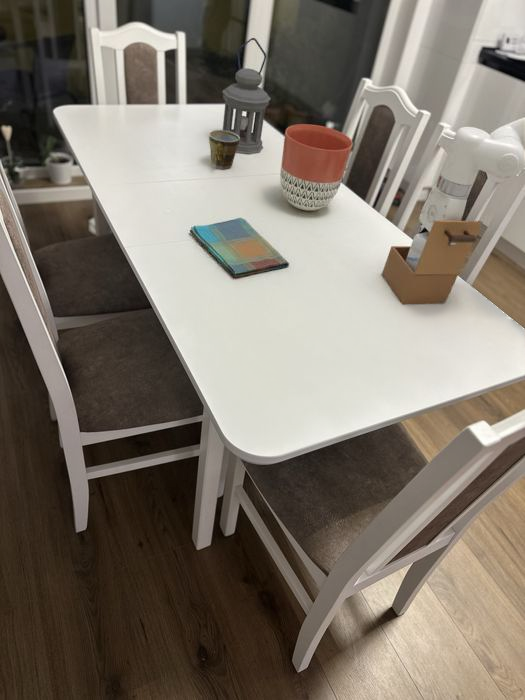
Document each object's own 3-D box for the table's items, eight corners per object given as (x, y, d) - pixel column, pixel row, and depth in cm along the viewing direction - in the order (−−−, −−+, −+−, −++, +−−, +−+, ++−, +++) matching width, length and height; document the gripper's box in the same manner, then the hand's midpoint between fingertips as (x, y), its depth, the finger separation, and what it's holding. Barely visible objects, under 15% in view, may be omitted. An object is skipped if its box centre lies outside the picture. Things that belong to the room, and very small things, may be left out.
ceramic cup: (211, 157, 185) (214, 127, 179) (239, 163, 185) (243, 134, 178) (200, 171, 175) (202, 140, 169) (230, 177, 175) (233, 147, 168)
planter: (310, 188, 178) (325, 122, 164) (347, 216, 166) (366, 147, 152) (261, 195, 168) (272, 125, 154) (297, 225, 157) (312, 153, 143)
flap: (434, 219, 119) (444, 229, 116) (481, 221, 122) (492, 230, 119) (413, 273, 128) (421, 283, 125) (458, 273, 131) (467, 283, 128)
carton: (381, 274, 143) (391, 246, 138) (422, 274, 146) (433, 246, 141) (402, 304, 134) (413, 275, 128) (445, 303, 137) (458, 275, 131)
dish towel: (243, 224, 153) (244, 215, 151) (290, 267, 139) (291, 258, 137) (188, 233, 144) (189, 224, 142) (232, 280, 130) (233, 271, 129)
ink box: (412, 286, 134) (428, 245, 126) (398, 275, 137) (413, 234, 129) (435, 279, 138) (453, 239, 131) (421, 269, 141) (437, 229, 134)
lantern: (264, 141, 204) (280, 37, 182) (260, 157, 191) (277, 48, 169) (221, 133, 204) (231, 28, 181) (214, 149, 191) (224, 38, 168)
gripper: (422, 168, 127) (398, 236, 139) (458, 203, 115) (428, 274, 126) (449, 170, 129) (424, 236, 141) (488, 204, 117) (456, 274, 128)
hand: (426, 253), depth 133 cm, fingers closed on ink box, 6 cm apart
